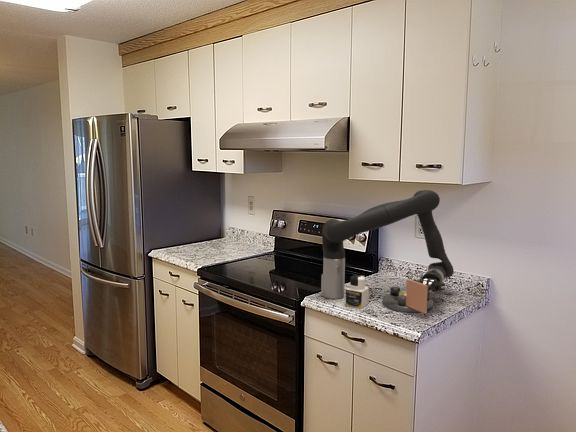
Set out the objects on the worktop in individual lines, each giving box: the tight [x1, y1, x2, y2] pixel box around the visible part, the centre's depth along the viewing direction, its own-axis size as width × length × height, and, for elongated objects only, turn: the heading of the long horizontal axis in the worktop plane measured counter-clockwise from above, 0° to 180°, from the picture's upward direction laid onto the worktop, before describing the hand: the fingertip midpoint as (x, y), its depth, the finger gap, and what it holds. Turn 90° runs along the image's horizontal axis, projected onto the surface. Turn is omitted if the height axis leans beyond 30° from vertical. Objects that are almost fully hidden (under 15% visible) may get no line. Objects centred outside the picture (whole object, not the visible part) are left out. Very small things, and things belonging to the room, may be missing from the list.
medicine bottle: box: [345, 274, 370, 309], centre depth 189 cm, size 7×7×12 cm
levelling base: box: [381, 286, 434, 314], centre depth 189 cm, size 20×20×5 cm
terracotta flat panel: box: [398, 278, 428, 314], centre depth 178 cm, size 14×4×11 cm, turn 29°
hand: (423, 290), depth 174 cm, fingers closed
